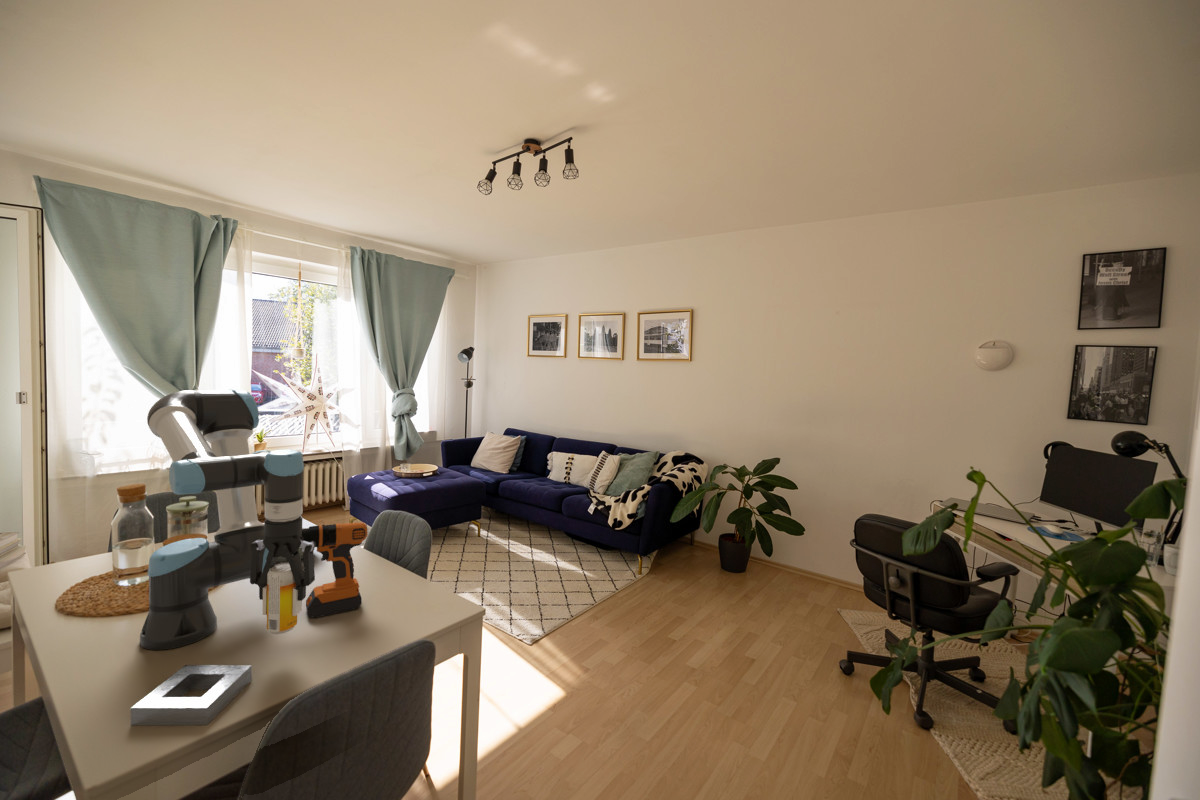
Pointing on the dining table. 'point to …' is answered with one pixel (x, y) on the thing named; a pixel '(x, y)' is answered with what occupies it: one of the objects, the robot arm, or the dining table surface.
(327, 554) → the power drill
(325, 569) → the dining table surface
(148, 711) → the collar
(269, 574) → the beer can
